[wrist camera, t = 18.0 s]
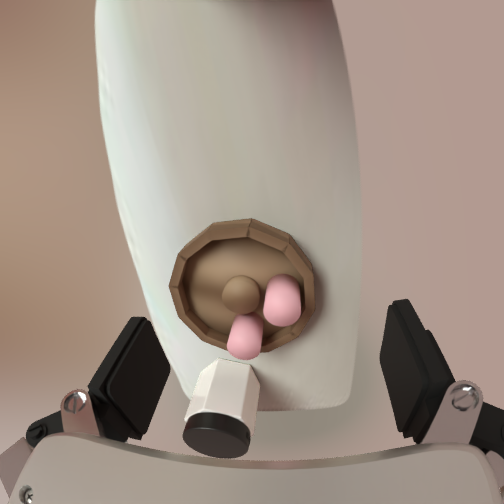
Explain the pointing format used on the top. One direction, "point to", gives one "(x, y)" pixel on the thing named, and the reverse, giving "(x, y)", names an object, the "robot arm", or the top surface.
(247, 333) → the bead
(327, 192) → the top surface
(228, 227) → the tray
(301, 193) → the top surface
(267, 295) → the bead
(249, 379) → the jar
